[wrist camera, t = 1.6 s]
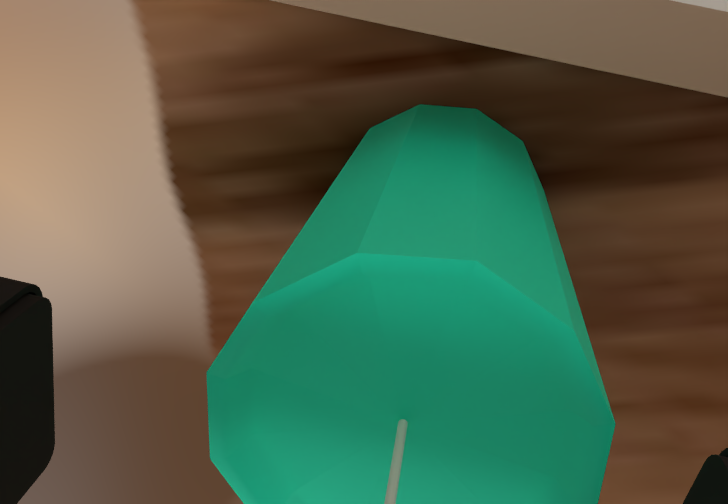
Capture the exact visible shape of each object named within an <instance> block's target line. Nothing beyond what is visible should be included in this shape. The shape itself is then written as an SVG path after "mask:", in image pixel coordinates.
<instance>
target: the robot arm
mask: <svg viewBox="0 0 728 504" xmlns="http://www.w3.org/2000/svg"><path fill="white" fill-rule="evenodd" d="M52 342H53V341H52V307H51V303H50V301H49V299H47V298H44V297H43V296H42V292H41V290H40V288H39V287H38V286H36V285H34V284H29V283H25V282H21V281H17V280H12V279H8V278H4V277H0V504H17V503H18V501H19V500H20V499H21V498H22V497H23V495H24V494H25V493H26V492H27V490H28V489H29V488H30V487H31V486H32V484H33V483H34V482H35V481H36V479H37V478H38V477H39V476H40V475H41V473H42V472H43V471H44V470H45V468H46V467H47V465H48V463H49V461H50V459H51V456H52V454H53V450H54V444H55V431H54V387H53V343H52ZM683 504H728V448H726V449H725V450H723V451H722V452H721V453H720V455H711V456H709V457H708V458H707V460H706V461H705V463H704V464H703V466H702V468H701V470H700V472H699V474H698V476H697V478H696V479H695V481H694V483H693V485H692V487H691V489H690V491H689V493H688V495H687V496H686V498H685V500H684V502H683Z"/></svg>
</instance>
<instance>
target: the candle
mask: <svg viewBox="0 0 728 504" xmlns="http://www.w3.org/2000/svg"><path fill="white" fill-rule="evenodd" d="M207 396H208V420H209V445H210V459H211V461H212V462H213V463H214V465H215V466H216V467H217V469H218V470H219V471H220V473H221V474H222V475H223V477H224V478H225V479H226V481H227V482H228V483H229V485H230V486H231V487H232V488H233V490H234V491H235V493H236V494H237V495H238V497H239V498H240V499H241V501H242V502H243V503H244V504H598V500H599V496H600V491H601V487H602V482H603V478H604V473H605V469H606V464H607V460H608V455H609V451H610V446H611V442H612V437H613V433H614V428H615V421H614V418H613V414H612V411H611V408H610V405H609V401H608V398H607V395H606V391H605V388H604V385H603V382H602V378H601V375H600V372H599V369H598V365H597V362H596V359H595V356H594V352H593V349H592V346H591V342H590V339H589V336H588V333H587V329H586V326H585V323H584V320H583V316H582V313H581V310H580V306H579V303H578V300H577V297H576V293H575V290H574V287H573V284H572V280H571V277H570V274H569V271H568V267H567V264H566V261H565V257H564V254H563V251H562V248H561V244H560V241H559V238H558V235H557V231H556V228H555V225H554V222H553V218H552V215H551V212H550V208H549V205H548V202H547V199H546V195H545V192H544V189H543V187H542V185H541V182H540V180H539V178H538V175H537V173H536V171H535V168H534V166H533V164H532V161H531V159H530V157H529V154H528V152H527V150H526V147H525V145H524V143H523V141H522V140H521V139H519V138H518V137H516V136H515V135H513V134H512V133H511V132H509V131H508V130H506V129H505V128H503V127H502V126H501V125H499V124H498V123H496V122H495V121H493V120H492V119H491V118H489V117H488V116H486V115H485V114H483V113H482V112H481V111H479V110H478V109H473V108H461V107H448V106H435V105H423V104H419V105H417V106H415V107H413V108H411V109H409V110H407V111H405V112H402V113H400V114H398V115H396V116H394V117H392V118H390V119H388V120H386V121H384V122H382V123H380V124H377V125H375V126H373V127H371V128H370V129H369V130H368V132H367V133H366V135H365V136H364V137H363V139H362V140H361V142H360V143H359V145H358V146H357V148H356V149H355V151H354V152H353V154H352V155H351V157H350V158H349V160H348V161H347V163H346V164H345V166H344V167H343V169H342V170H341V172H340V173H339V175H338V176H337V178H336V179H335V181H334V182H333V184H332V185H331V187H330V188H329V190H328V191H327V192H326V194H325V195H324V197H323V198H322V200H321V201H320V203H319V204H318V206H317V207H316V209H315V210H314V212H313V213H312V215H311V216H310V218H309V219H308V221H307V222H306V224H305V225H304V227H303V228H302V230H301V231H300V233H299V234H298V236H297V237H296V239H295V240H294V242H293V243H292V245H291V246H290V247H289V249H288V250H287V252H286V253H285V255H284V256H283V258H282V259H281V261H280V262H279V264H278V265H277V267H276V268H275V270H274V271H273V273H272V274H271V276H270V277H269V279H268V280H267V282H266V283H265V285H264V286H263V288H262V289H261V291H260V292H259V294H258V295H257V297H256V298H255V300H254V301H253V302H252V304H251V306H250V307H249V309H248V310H247V312H246V313H245V315H244V316H243V318H242V319H241V321H240V322H239V324H238V325H237V327H236V328H235V330H234V331H233V333H232V334H231V336H230V338H229V339H228V341H227V342H226V344H225V345H224V347H223V348H222V350H221V351H220V353H219V354H218V356H217V357H216V359H215V360H214V362H213V363H212V365H211V366H210V368H209V369H208V371H207Z"/></svg>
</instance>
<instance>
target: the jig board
mask: <svg viewBox="0 0 728 504" xmlns="http://www.w3.org/2000/svg"><path fill="white" fill-rule="evenodd" d="M271 1H276V2H280V3H285V4H290V5H294V6H299V7H304V8H309V9H313V10H318V11H323V12H327V13H332V14H337V15H342V16H346V17H351V18H356V19H360V20H365V21H370V22H375V23H379V24H384V25H389V26H393V27H398V28H403V29H407V30H412V31H417V32H422V33H426V34H431V35H436V36H440V37H445V38H450V39H455V40H459V41H464V42H469V43H473V44H478V45H483V46H488V47H492V48H497V49H502V50H506V51H511V52H516V53H521V54H525V55H530V56H535V57H539V58H544V59H549V60H554V61H558V62H563V63H568V64H572V65H577V66H582V67H586V68H591V69H596V70H601V71H605V72H610V73H615V74H619V75H624V76H629V77H634V78H638V79H643V80H648V81H652V82H657V83H662V84H667V85H671V86H676V87H681V88H685V89H690V90H695V91H700V92H704V93H709V94H714V95H718V96H723V97H728V0H271Z"/></svg>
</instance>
